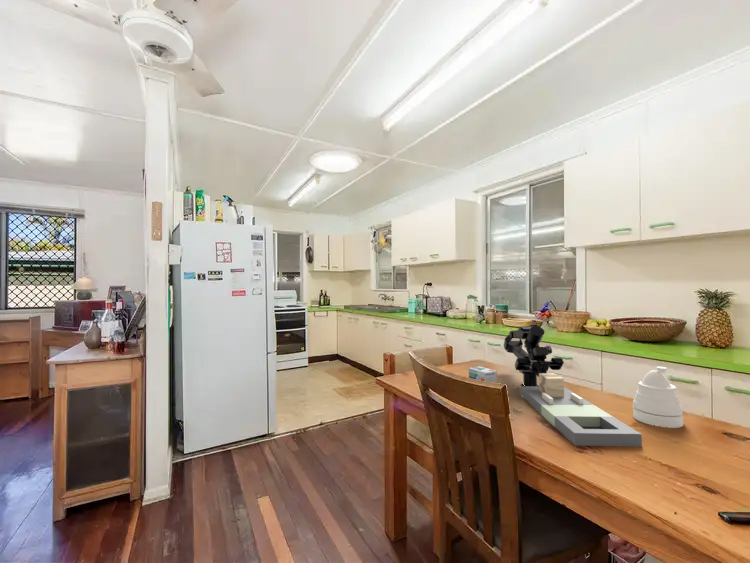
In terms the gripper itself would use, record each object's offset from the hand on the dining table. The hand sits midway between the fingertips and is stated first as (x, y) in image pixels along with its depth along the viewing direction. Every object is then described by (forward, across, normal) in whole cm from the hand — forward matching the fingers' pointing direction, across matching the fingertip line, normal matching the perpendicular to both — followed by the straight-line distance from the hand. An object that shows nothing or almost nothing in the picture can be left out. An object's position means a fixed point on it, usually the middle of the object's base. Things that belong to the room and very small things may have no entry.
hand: (544, 381), depth 138 cm
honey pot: (+21, +27, -11) cm, 36 cm away
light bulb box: (+1, -24, +8) cm, 25 cm away
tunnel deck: (+19, 0, -9) cm, 21 cm away
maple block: (+6, 0, -2) cm, 7 cm away
